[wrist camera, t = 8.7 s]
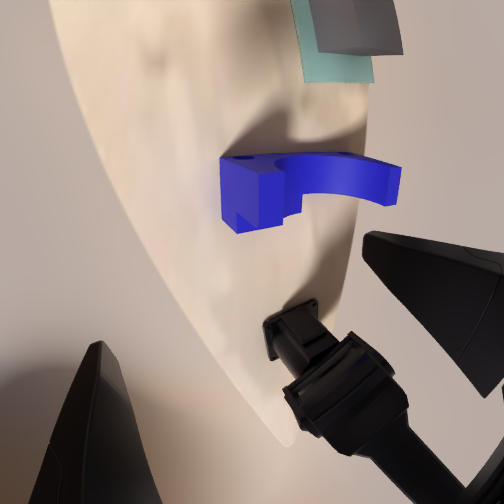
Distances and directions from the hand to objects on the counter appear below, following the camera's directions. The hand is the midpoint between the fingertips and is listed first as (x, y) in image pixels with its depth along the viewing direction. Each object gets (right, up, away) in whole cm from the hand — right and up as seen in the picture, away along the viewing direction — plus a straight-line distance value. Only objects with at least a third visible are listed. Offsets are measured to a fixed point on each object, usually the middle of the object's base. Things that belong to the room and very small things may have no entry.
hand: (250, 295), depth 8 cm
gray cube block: (+7, +19, +8) cm, 22 cm away
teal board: (+7, +19, +8) cm, 22 cm away
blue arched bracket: (+3, +7, +13) cm, 15 cm away
